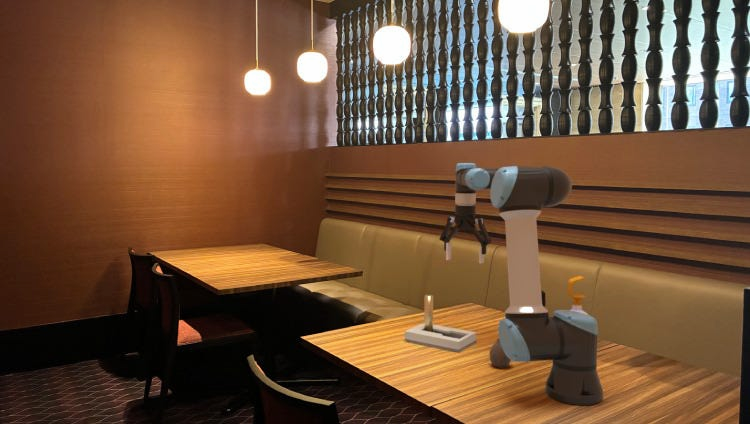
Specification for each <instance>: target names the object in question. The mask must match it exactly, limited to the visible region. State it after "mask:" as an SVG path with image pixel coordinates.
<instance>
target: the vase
mask: <svg viewBox="0 0 750 424" xmlns="http://www.w3.org/2000/svg"><path fill="white" fill-rule="evenodd" d="M489 360H490V362H491V364H492V366H493V367H495V368H498V369H500V368H501V369H504V368H507V367H509V365H510V363H511V361H512V360H510V359H509V358H508V357H507V356H506V355H505V353H504V351H503V349H502V346H501V343H500V340H499V337H498V338H497V339H496V341H495V342H494V343H493V344H492V345H491V347H490V350H489Z"/></svg>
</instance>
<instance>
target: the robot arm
mask: <svg viewBox="0 0 750 424" xmlns="http://www.w3.org/2000/svg"><path fill="white" fill-rule="evenodd" d="M454 174H455V188H454V189H455V196H454V197H455V198H454V199H455V201H454V204H455V206H454V207H455V209H454V215H455V217H453V216H448V217H447V219H446V223H445V226H444V228H443V230H442V232H441V233H440V237H439V241H441V242H443V243H444V244H443V246H444V247H443V249H444V252H445V260H446V261H449V260H452V241H451V240H452V239H453V237H454V236H456V234H457V233H458V231H460V230H461V231H463V230H466V231H470V232H471V233H472V234H473V236H474V237H475V239H476V240H477V241H478V243H480V245H479V247H478V264H484V263H485V255H486V254H487V246H488V245H491V244H492V243H493V241H492V239H491V238H490V237H491V236H490V235H489V232H488V230H487V228H486V226H485V221H484V220H485V219H484V218H483V217H482V218H476V210H477V209H476V202H477V200H476V199H477V196H476V195H477V191H483V190H484V191H485V190H486V191H487V190H490V191H489V192H490V193H489V196H490V202H491V205H492V206H493V208H495V209H498V216H500V217H501V218H502V219H503V220H504V226H505V240H506V241H505V243H506V244H505V245H506V259H507V274H508V275H507V276H508V291H509V307H507V309H505V311H504V313H505V314H504V318H502V319H500V320H499V322H498V327H497V333H498V338H499V340H500V343H501V346H502V349H503V351H504V353H505V355H506V356H507V357H508V358H509V359H510V360H511V361H512V362H523V363H529V362H540V361H541V362H542V361H543V362H544V361H552V365H551V368H550V371H549V373H548V375H547V378H546V381H545V388H544V389H545V390H544V391H545V394H546V395H547V396H548V397H549V398H551V399H553V400H555V401H557V402H561V403H563V404H564V403H565V404H570V405H576V406H577V405H578V406H590V405H596V404H598V403H600V402H601V401H603V394H604V393H603V387H602V384H601V380H600V377H599V374H598V370H597V369H598V368H597V364H598V363H597V362H598V340H599V339H598V337H599V327H598V326H599V325H598V321H597V319H596V318H595V317H593V316H592V315H590V314H588V313H587V314H588V315H587V314H584V313H580V312H576V311H570V310H571V309H556V310H554V311H553V313H552V316H549V310H548V309H547V307H546V306H545V307H543V305H542V296H541V290H542V283H541V270H540V268H541V267H540V253H539V240H538V239H539V238H538V228H537V227H538V224H537V219H538V217H539V216H540V215H541V214H542V208H547V207H548V208H549V207H550V208H551V207H554V206H558V205H559V204H562V203H563V202H565V201H566V200H567V199H568V198H569V196H570V195H571V192H572V188H573V183H572V182H573V181H572V178H571V177H570V176H569V174H568V172H566V171H565V170H563V169H561V168H558V167H555V166H554V167H553V166H546V165H545V166H535V165H534V166H532V165H531V166H528V165H512V166H503V167H500V168H488V167H487V168H485V167H484V168H480V167H477V164H476V163H475V162H470V163H469V162H459V163H456V166H455V172H454ZM454 223H455V225H454V226H453V224H454ZM475 224H477V225H478V228H479V230H480V231H479V230H478V228H477V226H476V225H475ZM452 226H453V228H452V230H451V227H452ZM450 230H451V231H450Z"/></svg>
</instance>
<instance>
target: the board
mask: <svg viewBox="0 0 750 424" xmlns="http://www.w3.org/2000/svg"><path fill="white" fill-rule="evenodd" d="M434 332H436V333H434ZM405 341H406V342H407V343H410V342H411V344H414V345H415V344H416V345H420V346H425V347H430V348H435V349H439V350H443V351H444V350H445V351H448V352H453V353H461V352H462V351H463V350H466V349H467V348H469V347H471V346H473V345H474V344H476V343H477V332H476V331H472V330H471V331H470V330H465V329H459V328H454V327H449V326H444V325H443V326H442V325H438V324H433V332H429V331H424V322H423V323H420V324H418V325H416V326H413V327H411V328H408V329H406V330H404V342H405Z"/></svg>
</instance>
